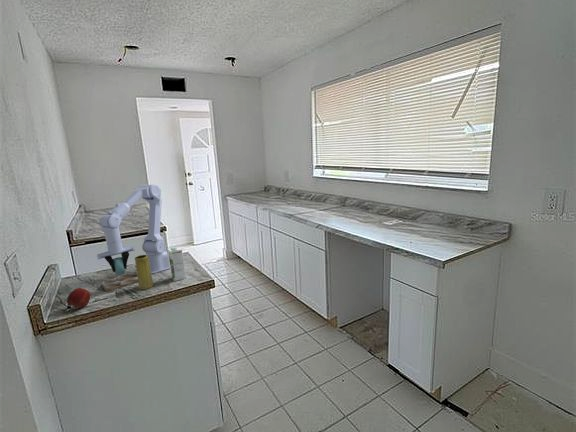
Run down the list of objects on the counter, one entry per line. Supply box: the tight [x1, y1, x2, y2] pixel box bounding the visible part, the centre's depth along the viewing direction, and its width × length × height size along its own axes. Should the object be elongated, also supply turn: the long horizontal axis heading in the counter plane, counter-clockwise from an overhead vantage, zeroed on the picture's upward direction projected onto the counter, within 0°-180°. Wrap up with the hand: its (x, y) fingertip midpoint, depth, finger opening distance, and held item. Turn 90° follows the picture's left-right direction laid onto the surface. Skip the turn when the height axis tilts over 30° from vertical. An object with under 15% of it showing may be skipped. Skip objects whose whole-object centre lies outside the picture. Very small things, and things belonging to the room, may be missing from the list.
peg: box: [112, 256, 126, 276], centre depth 135 cm, size 4×4×7 cm
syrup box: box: [167, 246, 187, 282], centre depth 141 cm, size 6×6×14 cm
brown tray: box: [101, 271, 138, 293], centre depth 141 cm, size 15×11×2 cm
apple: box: [66, 287, 91, 309], centre depth 119 cm, size 7×8×8 cm
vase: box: [134, 254, 154, 290], centre depth 134 cm, size 6×6×14 cm
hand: (119, 269), depth 135 cm, fingers closed on peg, 4 cm apart
